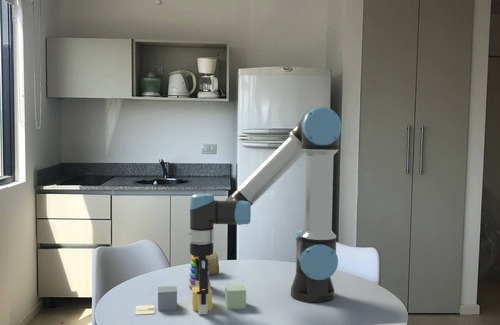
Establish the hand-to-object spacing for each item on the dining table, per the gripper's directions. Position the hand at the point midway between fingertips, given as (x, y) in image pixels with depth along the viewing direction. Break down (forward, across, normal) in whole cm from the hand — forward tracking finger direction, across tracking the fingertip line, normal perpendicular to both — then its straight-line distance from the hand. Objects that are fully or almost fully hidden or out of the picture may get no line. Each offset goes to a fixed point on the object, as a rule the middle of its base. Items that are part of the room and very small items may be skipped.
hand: (201, 306), depth 171 cm
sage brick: (0, 0, +11) cm, 11 cm away
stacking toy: (0, -22, +1) cm, 22 cm away
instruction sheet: (0, 0, -18) cm, 18 cm away
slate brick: (0, -2, -11) cm, 11 cm away
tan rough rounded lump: (0, -39, +6) cm, 39 cm away
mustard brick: (0, 0, 0) cm, 0 cm away
